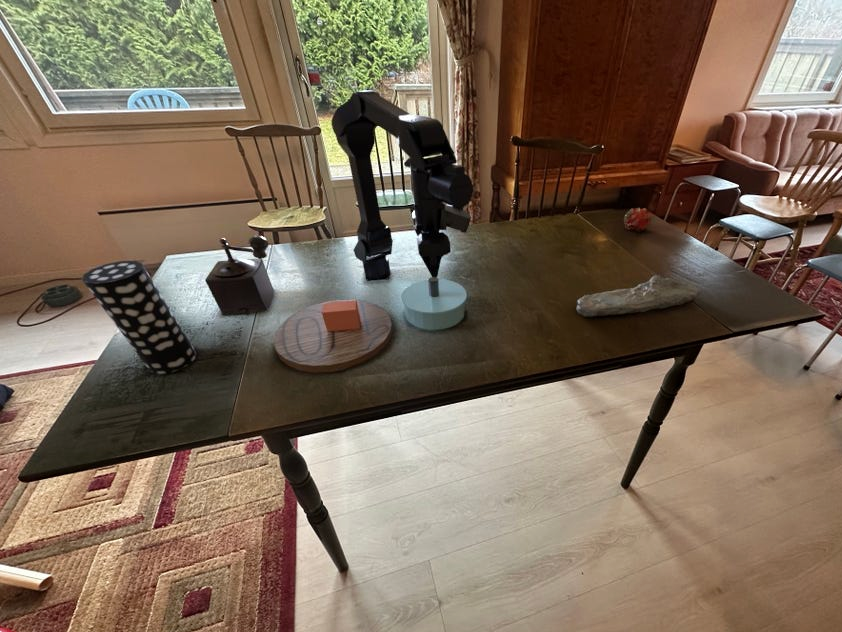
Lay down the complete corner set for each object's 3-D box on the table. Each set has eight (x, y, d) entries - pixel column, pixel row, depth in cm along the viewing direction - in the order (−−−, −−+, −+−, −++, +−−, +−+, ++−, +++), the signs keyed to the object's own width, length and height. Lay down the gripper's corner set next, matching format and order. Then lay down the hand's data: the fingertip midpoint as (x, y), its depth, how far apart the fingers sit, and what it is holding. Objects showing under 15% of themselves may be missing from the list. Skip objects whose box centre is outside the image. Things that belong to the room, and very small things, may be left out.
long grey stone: (566, 306, 98) (584, 329, 91) (569, 289, 94) (588, 312, 88) (679, 284, 105) (704, 303, 98) (686, 267, 101) (712, 286, 95)
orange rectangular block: (327, 331, 82) (321, 312, 79) (329, 321, 85) (323, 302, 82) (360, 328, 83) (355, 309, 80) (360, 318, 86) (356, 300, 83)
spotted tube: (163, 348, 80) (103, 261, 67) (204, 347, 80) (153, 260, 67) (139, 374, 73) (68, 283, 60) (184, 373, 74) (123, 282, 61)
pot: (407, 334, 85) (405, 316, 82) (404, 301, 96) (402, 284, 93) (469, 328, 88) (469, 310, 85) (459, 296, 98) (459, 279, 95)
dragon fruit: (617, 235, 137) (641, 235, 142) (635, 228, 129) (660, 228, 134) (616, 211, 137) (640, 212, 141) (634, 203, 129) (659, 204, 134)
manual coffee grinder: (220, 317, 89) (182, 244, 77) (232, 294, 97) (199, 225, 85) (289, 310, 92) (263, 239, 80) (295, 288, 100) (272, 221, 88)
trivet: (376, 297, 97) (375, 291, 96) (407, 352, 80) (406, 345, 79) (271, 320, 88) (269, 313, 87) (282, 387, 71) (278, 380, 70)
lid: (403, 319, 82) (400, 299, 79) (400, 285, 94) (398, 266, 90) (472, 313, 85) (472, 293, 81) (461, 280, 96) (460, 262, 93)
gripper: (476, 208, 68) (475, 284, 78) (460, 180, 82) (461, 248, 92) (415, 211, 66) (422, 289, 76) (409, 182, 80) (415, 251, 90)
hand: (432, 267), depth 84 cm, fingers open, 9 cm apart
